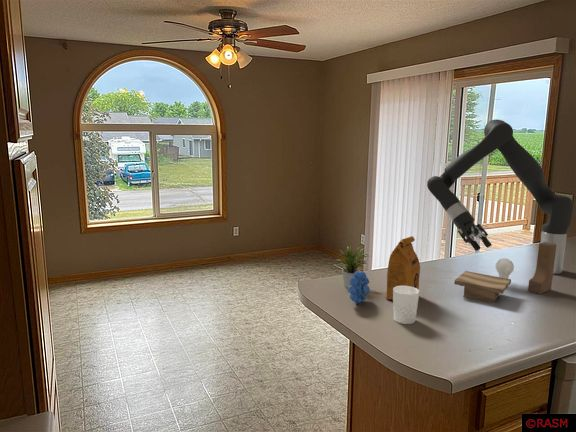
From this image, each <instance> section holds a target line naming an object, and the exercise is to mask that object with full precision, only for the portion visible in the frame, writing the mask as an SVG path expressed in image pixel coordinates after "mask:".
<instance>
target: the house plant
mask: <svg viewBox="0 0 576 432" xmlns="http://www.w3.org/2000/svg"><path fill="white" fill-rule="evenodd" d="M360 247H361V245H359V246H358V247H357V248H356V250H355V251H354V253H353V250H352V245H351V244H350V245H347V247H346V248H347V249H346V253H344V251H343V250H341V249H338V250H339V251H340V254H341V255H342V257H343V259H344V260H345V261H344V260H342V259H340V258H338V259H336V261H338V262H340V263H342V270H341V272H342V280H343V284H344V287H345V289H348V287H349V286H351V285H352V284H351V283H350V278H351V277H354V273H355V272H356V271H359V272H361V269H359V267H362V268H363V269H364V264H365V265H366V264H367V265H368V263H367V262H366V260H363V258H367V257H370V255H369V254H368V253H370V251H368V252H363V250H364V249H365V248H364V247H363V248H360ZM359 249H360V250H359ZM362 252H363V253H362ZM361 259H362V260H361Z"/></svg>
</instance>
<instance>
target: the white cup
mask: <svg viewBox="0 0 576 432" xmlns="http://www.w3.org/2000/svg"><path fill="white" fill-rule="evenodd" d="M419 297H420V289H419V290H418V289H417V288H414V287H411V286H396V287H394V288H393V300H392V311H393V318H392V319H393V320H394V321H395V322H396V323H399V324H403V325H411V324H415V322H416V321H417V312H418V306H419V299H420V298H419Z"/></svg>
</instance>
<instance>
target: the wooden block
mask: <svg viewBox="0 0 576 432" xmlns="http://www.w3.org/2000/svg"><path fill="white" fill-rule="evenodd" d="M555 254H556V244H553V243H548V242H543V243H541V242H540V243H539V244H538V252H537V257H536V259H537V260H536V265H535V266H536V267H535V268H536V269H535V273H534V274H533V277H532V278H530V279H529V280H528V287H527V291H528V292H529V293H534V294H537V295H541V294H544V293H546V292H548V291H549V292H550V291H551V290H552V286H553V285H552V284H553V278H554V274H553V270H554V262H555Z"/></svg>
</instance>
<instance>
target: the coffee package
mask: <svg viewBox="0 0 576 432" xmlns="http://www.w3.org/2000/svg"><path fill="white" fill-rule="evenodd" d="M415 241H416V239H415V238H414V236H412V235H411V236H409V237H406V238H401V240H400V241H399V242H398V244H397V245H396V246H395V248H394V249H393V250H392V251H391V254H390V255H389V259H388V266H387V272H386V299H387V300H392V301H393V288H394V287H396V286H411V287H414V288H417V289H418V290H419V291H420V288H419V287H420V274H421V265H420V259H419V257H418V255H417V253H416V252H415V250H414V246H413V242H415Z"/></svg>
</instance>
